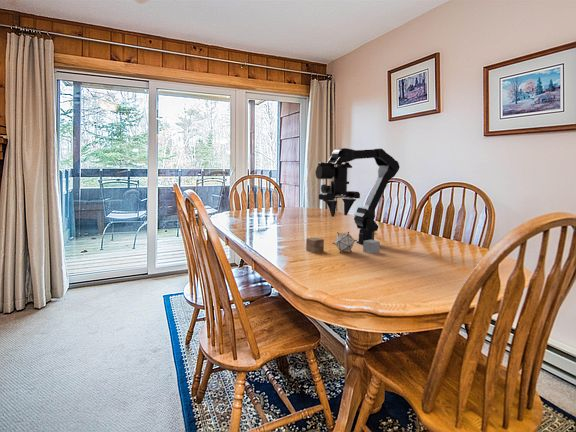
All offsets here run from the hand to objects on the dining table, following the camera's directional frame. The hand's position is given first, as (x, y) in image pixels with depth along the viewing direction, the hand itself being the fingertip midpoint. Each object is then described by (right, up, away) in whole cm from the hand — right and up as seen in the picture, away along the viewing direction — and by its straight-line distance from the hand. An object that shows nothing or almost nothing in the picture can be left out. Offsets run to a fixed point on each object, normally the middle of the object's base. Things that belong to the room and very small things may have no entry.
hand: (339, 215), depth 150 cm
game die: (+1, -15, -8) cm, 17 cm away
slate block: (+12, -15, -8) cm, 20 cm away
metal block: (-11, -14, -7) cm, 19 cm away
